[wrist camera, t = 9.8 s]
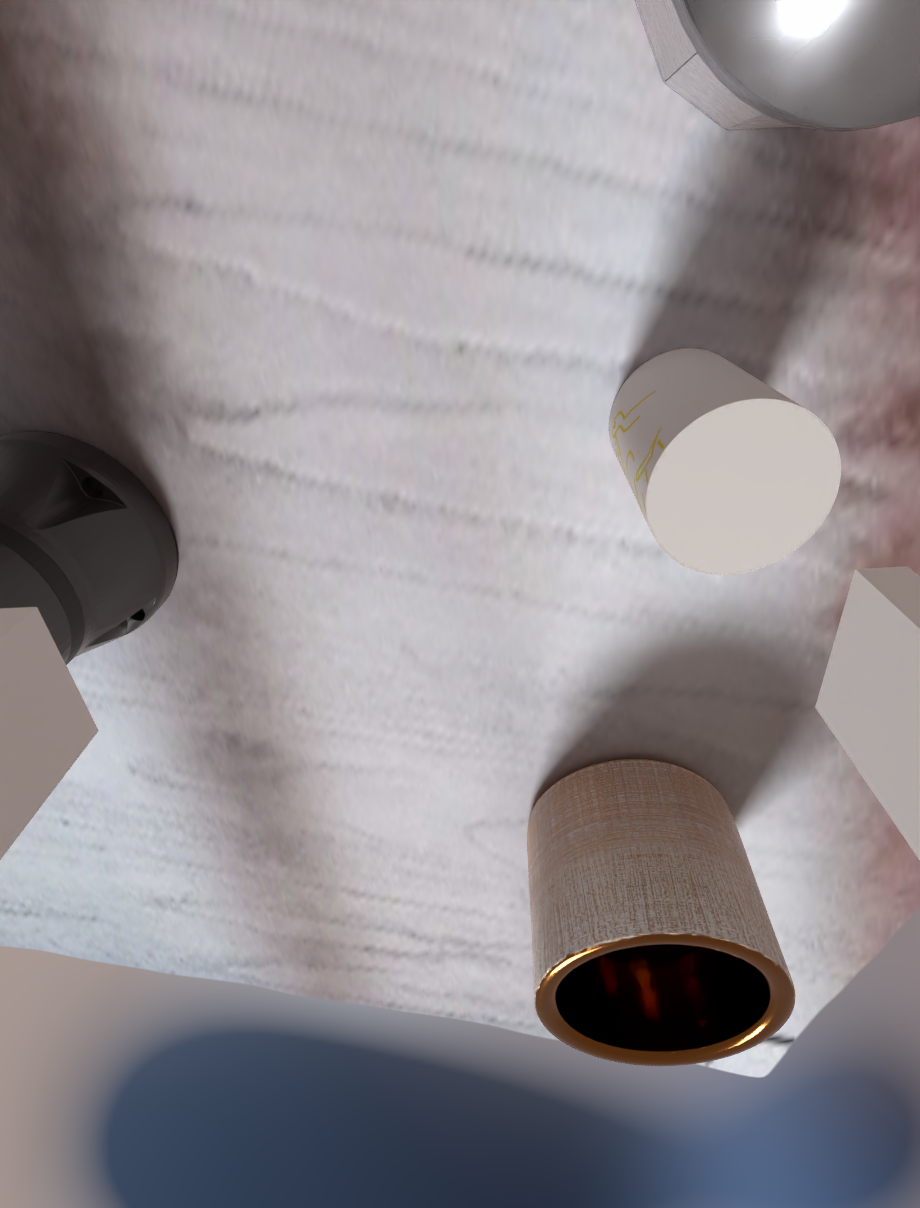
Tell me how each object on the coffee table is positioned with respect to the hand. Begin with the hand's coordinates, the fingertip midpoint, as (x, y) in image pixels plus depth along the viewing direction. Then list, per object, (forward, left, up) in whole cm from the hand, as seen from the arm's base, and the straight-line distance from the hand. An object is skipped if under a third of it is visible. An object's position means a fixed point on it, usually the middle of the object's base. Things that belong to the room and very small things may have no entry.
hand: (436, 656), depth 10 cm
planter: (+13, -40, -30) cm, 52 cm away
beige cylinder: (+12, -4, -30) cm, 33 cm away
